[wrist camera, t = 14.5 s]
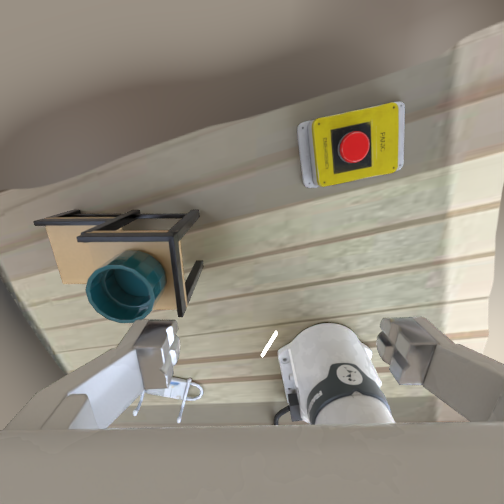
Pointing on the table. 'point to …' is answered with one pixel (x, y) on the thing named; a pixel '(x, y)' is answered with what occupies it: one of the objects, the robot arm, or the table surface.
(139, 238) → the rack
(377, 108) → the emergency button
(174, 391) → the wall mount rack
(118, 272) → the cup
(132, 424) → the table surface
